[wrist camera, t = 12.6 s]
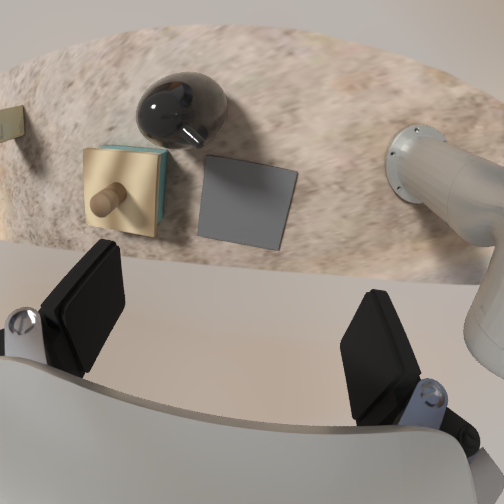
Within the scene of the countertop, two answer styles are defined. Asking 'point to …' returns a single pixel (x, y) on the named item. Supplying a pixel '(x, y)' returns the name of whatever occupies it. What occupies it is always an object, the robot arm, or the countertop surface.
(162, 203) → the dish
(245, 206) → the mat
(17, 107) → the skincare box
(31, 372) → the robot arm
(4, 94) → the countertop surface
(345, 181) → the countertop surface
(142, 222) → the lid
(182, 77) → the pump dispenser
